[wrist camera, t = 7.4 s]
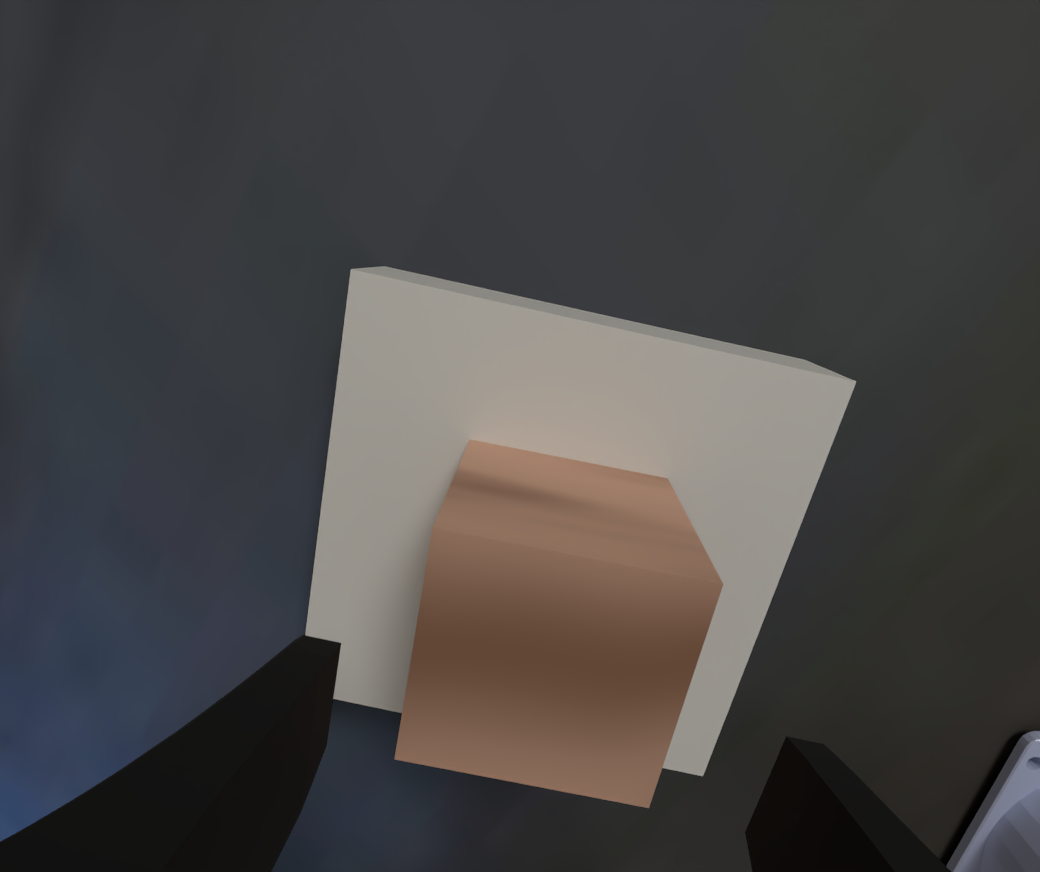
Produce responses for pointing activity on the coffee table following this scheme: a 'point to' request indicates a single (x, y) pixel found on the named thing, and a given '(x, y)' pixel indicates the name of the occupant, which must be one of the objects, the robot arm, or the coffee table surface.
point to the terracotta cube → (556, 625)
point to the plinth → (558, 432)
